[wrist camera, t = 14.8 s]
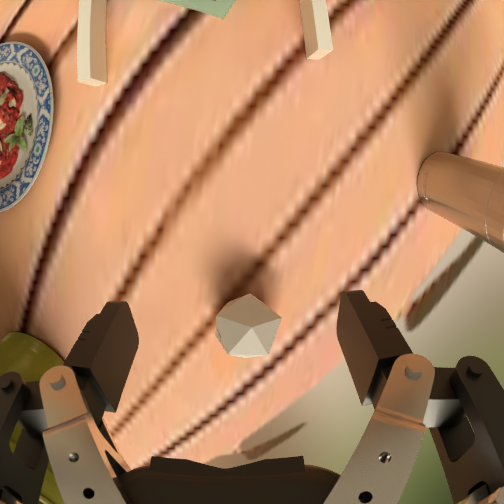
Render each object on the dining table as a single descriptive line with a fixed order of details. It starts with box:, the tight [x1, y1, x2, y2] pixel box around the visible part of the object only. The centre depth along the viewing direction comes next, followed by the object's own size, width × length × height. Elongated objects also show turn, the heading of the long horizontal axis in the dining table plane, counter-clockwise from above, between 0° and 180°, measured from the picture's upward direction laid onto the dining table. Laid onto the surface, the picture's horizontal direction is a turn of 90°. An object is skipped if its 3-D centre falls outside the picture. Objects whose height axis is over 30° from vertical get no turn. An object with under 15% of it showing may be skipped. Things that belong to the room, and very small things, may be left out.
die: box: [216, 294, 281, 358], centre depth 39 cm, size 8×9×10 cm
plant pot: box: [0, 332, 65, 504], centre depth 32 cm, size 30×30×29 cm
